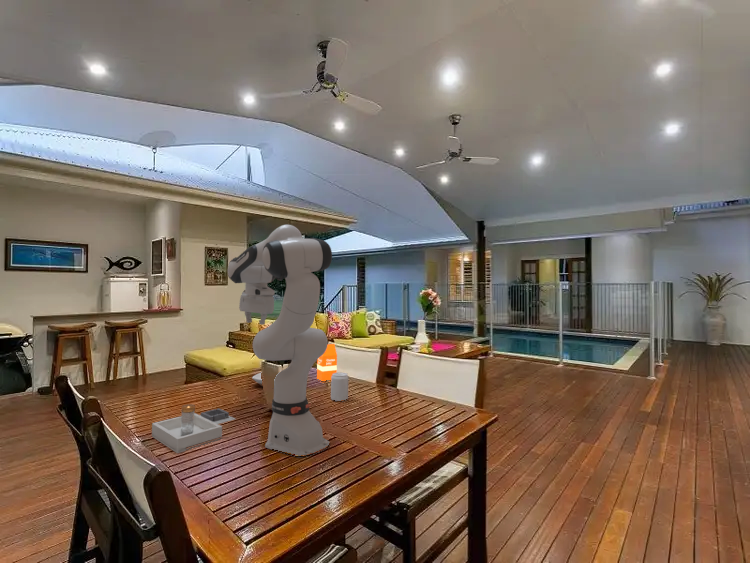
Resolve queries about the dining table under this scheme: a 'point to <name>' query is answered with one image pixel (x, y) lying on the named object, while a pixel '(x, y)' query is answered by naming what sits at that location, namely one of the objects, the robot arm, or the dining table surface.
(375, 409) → the dining table surface
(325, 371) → the orange juice
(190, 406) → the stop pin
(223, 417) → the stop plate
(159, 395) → the dining table surface
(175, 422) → the tray
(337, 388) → the beverage can
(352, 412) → the dining table surface
